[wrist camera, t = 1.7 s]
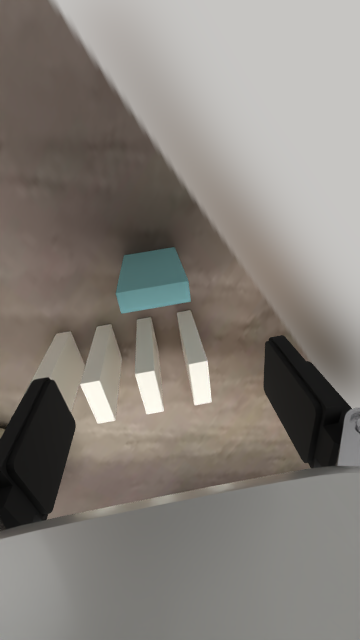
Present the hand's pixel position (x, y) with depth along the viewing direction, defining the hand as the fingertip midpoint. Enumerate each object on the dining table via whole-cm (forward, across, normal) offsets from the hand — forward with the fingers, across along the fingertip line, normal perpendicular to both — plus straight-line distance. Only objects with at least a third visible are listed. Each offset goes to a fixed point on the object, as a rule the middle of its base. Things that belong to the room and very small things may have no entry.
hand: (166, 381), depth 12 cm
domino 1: (+17, +11, +8) cm, 22 cm away
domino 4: (+17, +2, +8) cm, 19 cm away
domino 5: (+17, -2, +8) cm, 19 cm away
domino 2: (+17, +7, +8) cm, 20 cm away
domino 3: (+17, 0, -1) cm, 17 cm away
